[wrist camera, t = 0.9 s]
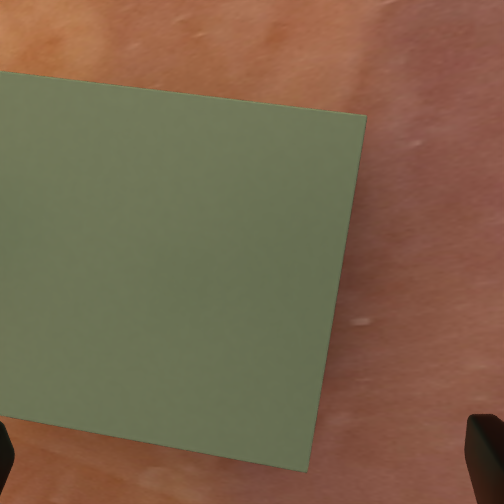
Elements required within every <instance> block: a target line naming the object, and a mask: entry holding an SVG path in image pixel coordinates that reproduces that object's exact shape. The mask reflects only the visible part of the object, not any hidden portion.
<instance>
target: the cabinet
mask: <svg viewBox="0 0 504 504" xmlns="http://www.w3.org/2000/svg"><path fill="white" fill-rule="evenodd" d="M366 122H367V116H366V115H360V114H352V113H343V112H335V111H327V110H319V109H310V108H302V107H294V106H286V105H277V104H269V103H261V102H253V101H244V100H236V99H228V98H220V97H211V96H203V95H195V94H187V93H178V92H170V91H162V90H154V89H145V88H137V87H129V86H121V85H112V84H104V83H96V82H88V81H79V80H71V79H63V78H55V77H46V76H38V75H30V74H22V73H13V72H5V71H0V415H1V416H6V417H11V418H17V419H22V420H27V421H33V422H38V423H43V424H49V425H54V426H59V427H65V428H70V429H75V430H81V431H86V432H91V433H97V434H102V435H107V436H113V437H118V438H123V439H129V440H134V441H139V442H145V443H150V444H155V445H161V446H166V447H171V448H177V449H182V450H187V451H193V452H198V453H203V454H208V455H214V456H219V457H224V458H230V459H235V460H240V461H246V462H251V463H256V464H262V465H267V466H272V467H278V468H283V469H288V470H294V471H299V472H304V473H307V472H308V466H309V460H310V454H311V448H312V442H313V436H314V431H315V425H316V419H317V413H318V407H319V401H320V395H321V389H322V383H323V377H324V371H325V365H326V359H327V353H328V347H329V341H330V335H331V330H332V324H333V318H334V312H335V306H336V300H337V294H338V288H339V282H340V276H341V270H342V264H343V258H344V252H345V246H346V240H347V234H348V229H349V223H350V217H351V211H352V205H353V199H354V193H355V187H356V181H357V175H358V169H359V163H360V157H361V151H362V145H363V139H364V133H365V128H366Z"/></svg>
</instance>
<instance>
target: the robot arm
mask: <svg viewBox="0 0 504 504" xmlns="http://www.w3.org/2000/svg"><path fill="white" fill-rule="evenodd" d="M464 450H465V460H466V464H467V468H468V471H469V475H470V478H471V482H472V486H473V489H474V493H475V496H476V500H477V504H504V422H503V421H502V420H501V419H499V418H498V417H497V416H495V415H493V414H472V415H470V416H469V417H468V420H467V428H466V438H465V449H464ZM14 457H15V453H14V448H13V446H12V443H11V441H10V438H9V436H8V433H7V430H6V428H5V426H4V424H3V423H2V422H1V421H0V495H1V492H2V490H3V487H4V485H5V483H6V480H7V478H8V475H9V473H10V470H11V468H12V466H13V463H14Z"/></svg>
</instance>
